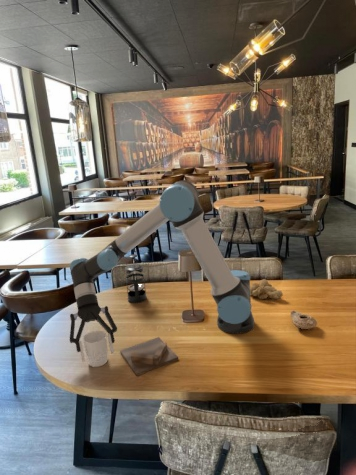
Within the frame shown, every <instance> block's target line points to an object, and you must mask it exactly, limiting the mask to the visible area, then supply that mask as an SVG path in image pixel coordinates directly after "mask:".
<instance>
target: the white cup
mask: <svg viewBox="0 0 356 475" xmlns="http://www.w3.org/2000/svg"><path fill="white" fill-rule="evenodd" d="M82 339H83V344H84V351H85V355H86V357H87V362H88V365H89V366H90V367H93V368H98V367H102V366H104V365H105V364H107V362H108V338H107V332H105V331H102V330H95V331H90V332H88V333H87V334H85V335H84V336H83V338H82Z"/></svg>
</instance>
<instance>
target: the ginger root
mask: <svg viewBox="0 0 356 475" xmlns="http://www.w3.org/2000/svg"><path fill="white" fill-rule="evenodd" d="M250 296H253V297H257V298H258V299H260V300H264V299H265V300H266V299H271V300H278V299H280V298H282V296H283V292H282V290H277V288H275V287H274V286H273V285H272V284H271V283H269V282H268V280H267V279H265V278H263V279H261V280H259V282H253V283H251V284H250ZM267 297H268V298H267Z"/></svg>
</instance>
